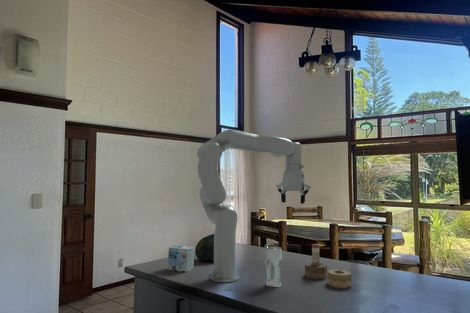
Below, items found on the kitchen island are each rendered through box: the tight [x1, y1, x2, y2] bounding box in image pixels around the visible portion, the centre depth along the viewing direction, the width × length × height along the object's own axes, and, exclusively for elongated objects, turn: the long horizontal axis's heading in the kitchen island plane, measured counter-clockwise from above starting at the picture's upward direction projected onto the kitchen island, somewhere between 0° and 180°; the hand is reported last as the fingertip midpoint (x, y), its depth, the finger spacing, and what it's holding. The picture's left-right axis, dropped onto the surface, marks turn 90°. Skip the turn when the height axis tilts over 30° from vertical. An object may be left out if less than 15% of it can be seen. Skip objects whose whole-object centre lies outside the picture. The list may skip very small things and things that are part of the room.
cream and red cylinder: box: [311, 243, 320, 266], centre depth 154 cm, size 3×3×14 cm
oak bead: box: [327, 268, 352, 289], centre depth 141 cm, size 9×9×5 cm
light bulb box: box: [167, 244, 195, 273], centre depth 164 cm, size 11×7×11 cm, turn 68°
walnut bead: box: [304, 262, 328, 280], centre depth 153 cm, size 9×9×5 cm
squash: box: [194, 233, 214, 262], centre depth 183 cm, size 14×15×15 cm
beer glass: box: [264, 245, 283, 288], centre depth 140 cm, size 7×7×15 cm
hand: (292, 202), depth 165 cm, fingers open, 9 cm apart
